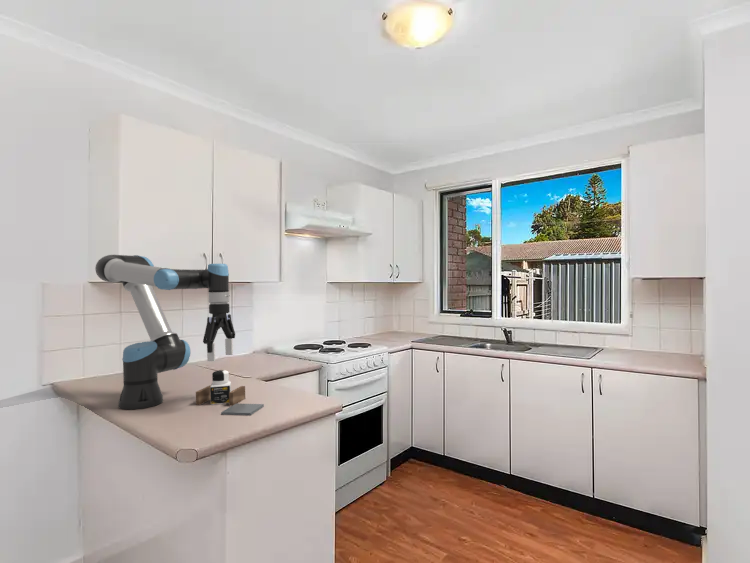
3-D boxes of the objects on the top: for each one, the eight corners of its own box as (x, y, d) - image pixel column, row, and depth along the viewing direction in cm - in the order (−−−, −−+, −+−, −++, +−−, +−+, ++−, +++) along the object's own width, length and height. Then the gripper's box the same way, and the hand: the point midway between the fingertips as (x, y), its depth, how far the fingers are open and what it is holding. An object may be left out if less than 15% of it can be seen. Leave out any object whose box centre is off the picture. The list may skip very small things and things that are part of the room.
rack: (196, 404, 167) (195, 391, 167) (210, 397, 177) (209, 385, 177) (233, 405, 164) (232, 392, 164) (245, 398, 174) (245, 386, 174)
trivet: (221, 414, 154) (221, 412, 154) (236, 405, 165) (236, 403, 165) (250, 415, 152) (250, 413, 152) (263, 406, 163) (263, 404, 163)
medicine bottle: (210, 405, 166) (209, 373, 166) (212, 400, 173) (211, 369, 173) (230, 403, 168) (229, 372, 168) (231, 398, 175) (230, 368, 175)
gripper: (211, 304, 158) (212, 363, 158) (242, 301, 182) (244, 352, 182) (191, 305, 159) (193, 363, 159) (226, 301, 183) (227, 352, 183)
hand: (220, 357), depth 171 cm, fingers open, 13 cm apart
